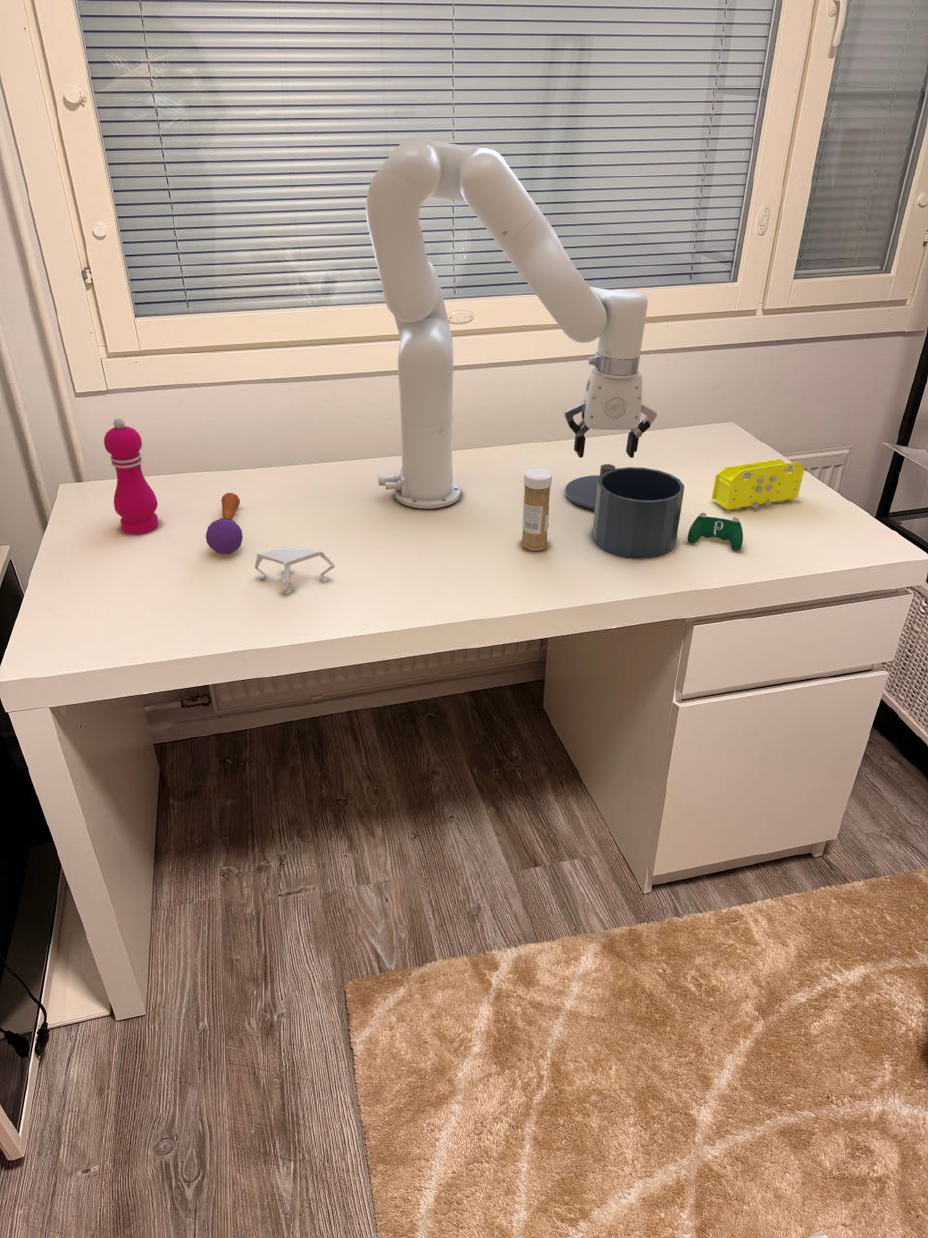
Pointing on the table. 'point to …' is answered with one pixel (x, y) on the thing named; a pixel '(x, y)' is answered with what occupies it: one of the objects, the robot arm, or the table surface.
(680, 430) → the table surface
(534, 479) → the sprinkles bottle
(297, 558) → the grey toy table
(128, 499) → the pepper mill
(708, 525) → the gaming controller
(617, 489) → the pot
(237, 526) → the purple maraca
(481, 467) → the table surface
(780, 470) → the yellow toy chassis
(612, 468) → the lid
